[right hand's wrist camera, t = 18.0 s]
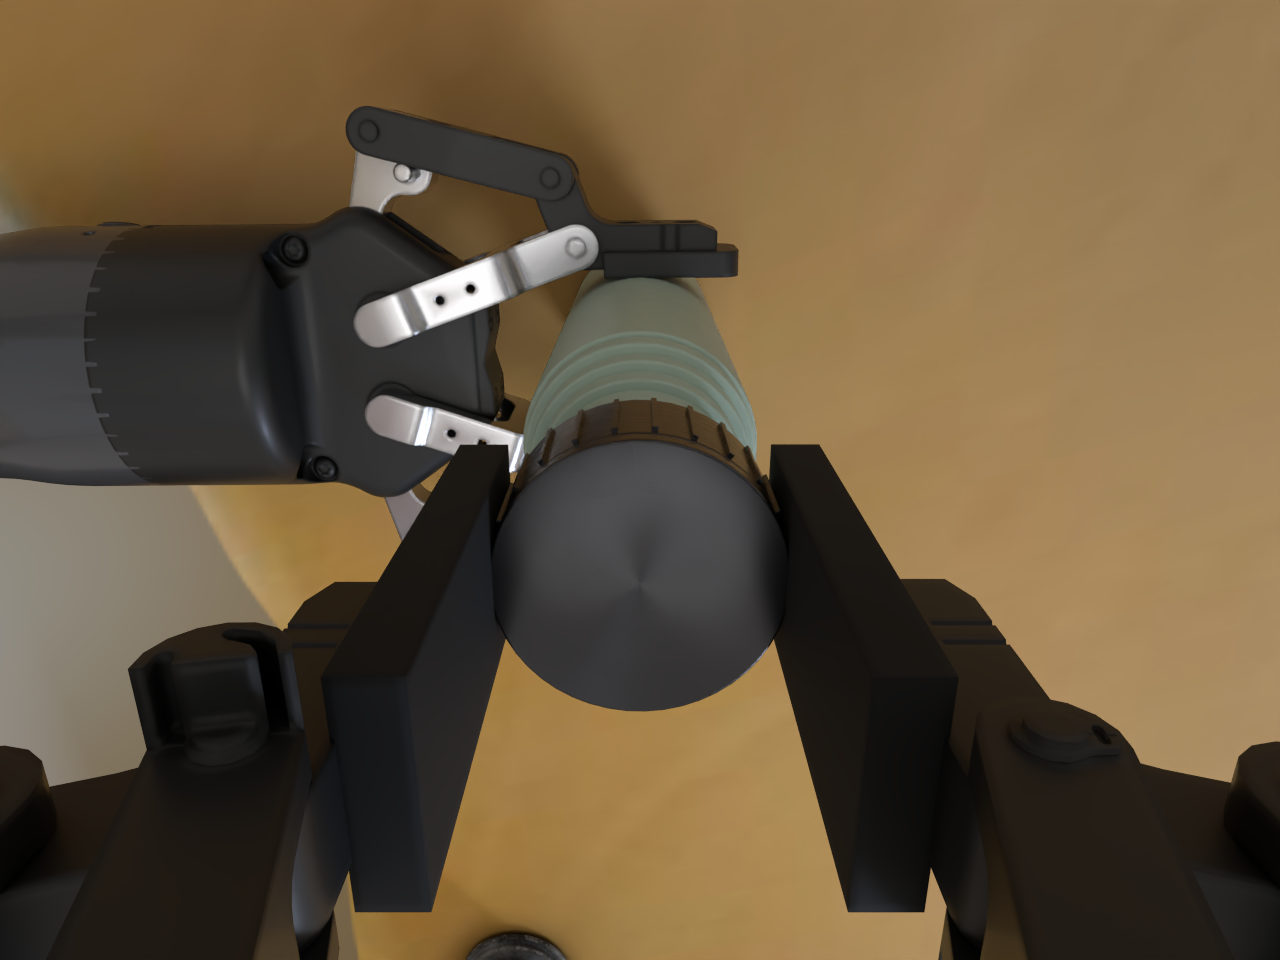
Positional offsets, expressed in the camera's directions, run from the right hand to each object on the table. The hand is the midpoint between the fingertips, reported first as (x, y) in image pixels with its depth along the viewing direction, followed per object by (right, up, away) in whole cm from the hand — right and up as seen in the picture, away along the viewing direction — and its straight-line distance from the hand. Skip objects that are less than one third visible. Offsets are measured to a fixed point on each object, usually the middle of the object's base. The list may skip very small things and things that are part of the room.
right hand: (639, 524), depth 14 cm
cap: (0, -1, -2) cm, 2 cm away
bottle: (0, +7, +18) cm, 19 cm away
